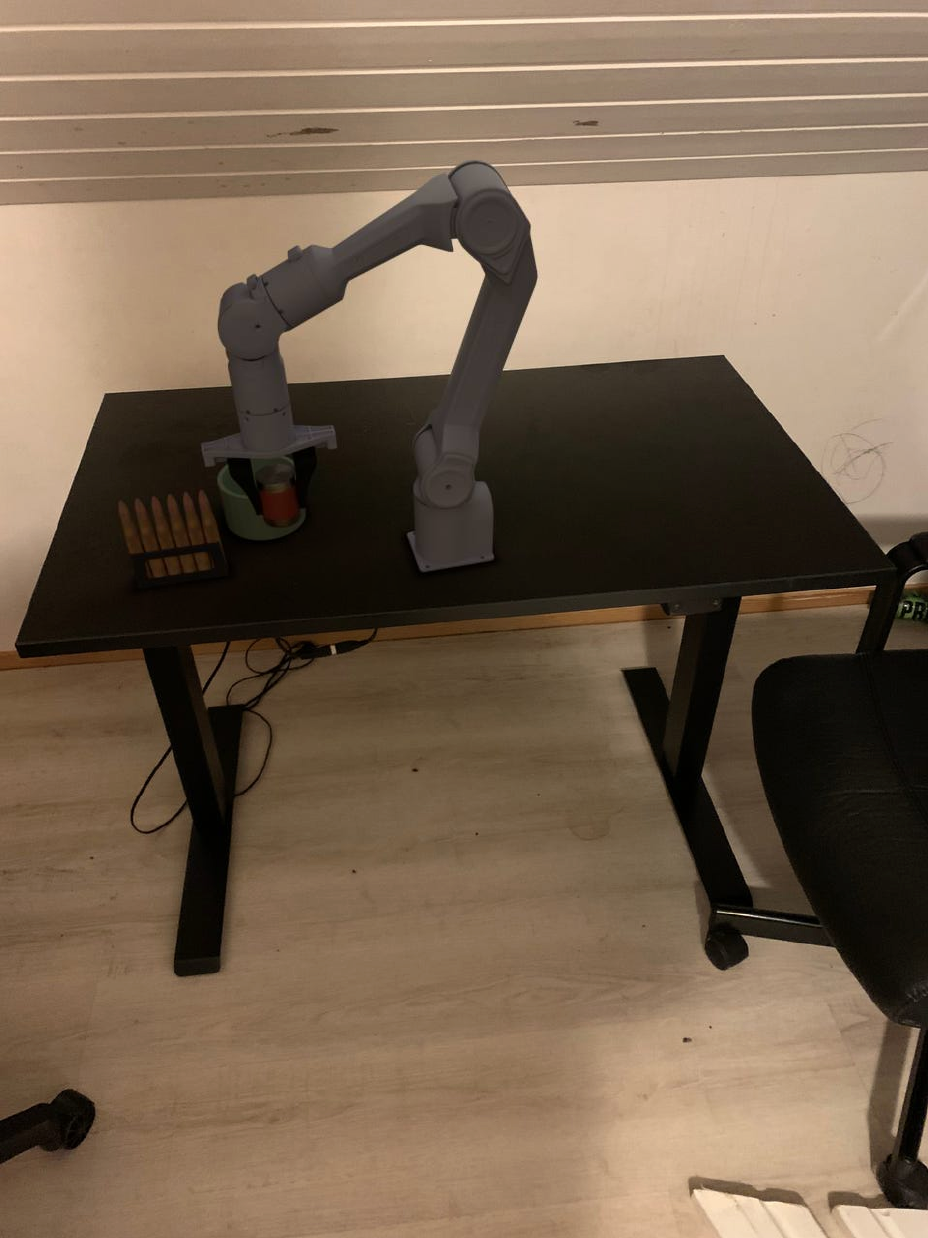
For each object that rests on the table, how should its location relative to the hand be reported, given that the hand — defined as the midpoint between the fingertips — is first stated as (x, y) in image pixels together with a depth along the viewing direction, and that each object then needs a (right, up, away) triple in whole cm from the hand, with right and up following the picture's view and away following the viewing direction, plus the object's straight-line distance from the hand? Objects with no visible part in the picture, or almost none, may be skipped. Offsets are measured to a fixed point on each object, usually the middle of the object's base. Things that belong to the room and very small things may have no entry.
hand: (280, 507), depth 101 cm
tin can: (0, -1, +1) cm, 1 cm away
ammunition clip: (-13, -8, +4) cm, 16 cm away
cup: (-5, 0, +13) cm, 14 cm away
